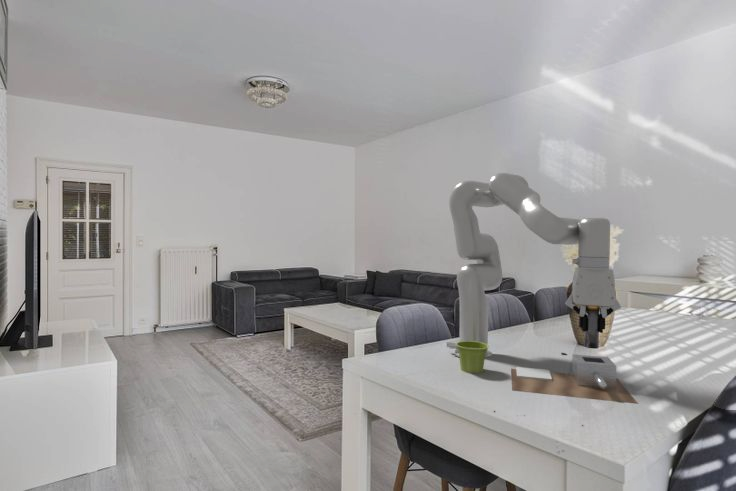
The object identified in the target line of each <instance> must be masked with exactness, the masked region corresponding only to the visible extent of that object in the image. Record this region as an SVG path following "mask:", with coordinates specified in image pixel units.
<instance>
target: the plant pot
mask: <svg viewBox="0 0 736 491" xmlns="http://www.w3.org/2000/svg"><path fill="white" fill-rule="evenodd" d="M456 342H457V343H456ZM456 342H455V343H456V346H457V347H458V351H459V357H458V358H459V364H460V371H462V372H464V373H470V374H481V373H483V371H484V366H485V360H486V357H485V354H486V352H487V348H488V349H489V344H488V345H487V344H485V343H481V342H475V341H461V342H459V341H456Z"/></svg>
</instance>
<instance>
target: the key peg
mask: <svg viewBox="0 0 736 491" xmlns="http://www.w3.org/2000/svg"><path fill="white" fill-rule="evenodd" d="M599 310H600V307H596V306H586V308H585V317H586V331H585V332H584V345H583V346H584V347H585V348H588V349H593V350H595V349H596V350H597V349H599V345H600V344H599V343H600V340H599V338H600V332H599V314H600V311H599Z"/></svg>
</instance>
